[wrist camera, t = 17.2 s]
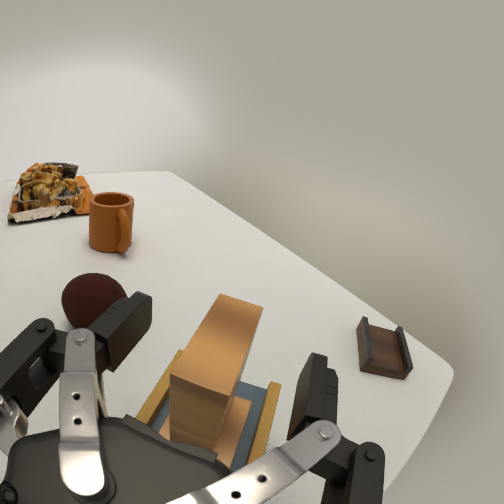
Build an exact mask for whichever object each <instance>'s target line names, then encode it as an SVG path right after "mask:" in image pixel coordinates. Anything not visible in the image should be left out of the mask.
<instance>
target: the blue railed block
mask: <svg viewBox="0 0 504 504" xmlns="http://www.w3.org/2000/svg"><path fill="white" fill-rule="evenodd" d="M182 353H183V350H180V349H179V351H178V352H177V354H176V355H175V357H174V358H173V360H172V361H171V363H170V365H169V366H168V368H167V369H166V371H165V372H164V374H163V375H162V377H161V378H160V380H159V382H158V383H157V385H156V386H155V388H154V389H153V391H152V392H151V394H150V396H149V397H148V399H147V400H146V402H145V403H144V405H143V406H142V408H141V410H140V411H139V413H138V414H137V416H136V417H135V419H137V420H139V421H141V422H143V423H145V424H147V425H149V426H150V427H151V428H152V429H154V430H155V431H156V432H158V433H159V431H160V429H161V427H162V426H163V424H164V422H165V420H166V418H167V417H168V415H169V385H170V372H171V370H172V369H173V367H174V365H175V364H176V362H177V361H178V359H179V357H180V356H181V354H182ZM280 388H281V384H279V383H275V382H272V381H271V382H270V384H269V386H268V388H267V389H264V388H260V387H257V386H254V385H251V384H248V383H244V382H241V381H240V382H239V385H238V388H237V391H236V394H235V396H236V397H239V398H243V399H246V400H249V401H252V403H251V406H250V409H249V412H248V416H247V419H246V422H245V425H244V428H243V431H242V434H241V437H240V440H239V443H238V446H237V449H236V452H235V455H234V458H233V461H232V463H231V466H230V470H231V471H232V472H233V473H234V472H236V471H238V470H239V469H241V468H243V467H244V466H246V465H248V464H250V463H251V462H253V461H255V460H256V459H258V458H259V457H261V456H263V455H264V453H265V449H266V446H267V442H268V438H269V434H270V430H271V426H272V422H273V418H274V414H275V409H276V405H277V401H278V397H279V392H280Z"/></svg>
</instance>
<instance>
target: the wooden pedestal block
mask: <svg viewBox="0 0 504 504" xmlns="http://www.w3.org/2000/svg"><path fill="white" fill-rule="evenodd" d="M262 310H263V307H260V306H257V305H254V304H251V303H248V302H245V301H242V300H239V299H236V298H233V297H230V296H227V295H224V294H221V293H220V294H219V296H218V297H217V299H216V300H215V302H214V303H213V305H212V307H211V308H210V310H209V311H208V313H207V315H206V316H205V318H204V319H203V321H202V322H201V324H200V326H199V327H198V329H197V330H196V332H195V334H194V335H193V337H192V338H191V340H190V342H189V343H188V345H187V346H186V348H185V349H184V351H183V353H182V354H181V356H180V357H179V359H178V361H177V362H176V364H175V365H174V367H173V369H172V370H171V372H170V385H169V415H168V417H167V418H166V420H165V422H164V424H163V426H162V427H161V429H160V431H159V434H160V435H161V436H163V437H164V438H165V439H167V440H170V441H175V442H180V443H186V444H192V445H196V446H199V447H201V448H204V449H207V450H210V451H213V452H216V453H218V456H217V458H216V459H218V460H219V461H221V462H222V463H224V464H225V465H226V466H227V467H228V468H229V469H230V466H231V463H232V461H233V458H234V455H235V452H236V449H237V446H238V443H239V440H240V437H241V434H242V431H243V428H244V425H245V422H246V419H247V416H248V412H249V409H250V406H251V403H252V401H249V400H246V399H243V398H239V397H236V396H235V394H236V391H237V388H238V385H239V382H240V379H241V376H242V373H243V370H244V367H245V364H246V361H247V358H248V355H249V352H250V348H251V345H252V342H253V339H254V336H255V333H256V329H257V326H258V323H259V320H260V317H261V313H262Z"/></svg>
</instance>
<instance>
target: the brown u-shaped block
mask: <svg viewBox="0 0 504 504" xmlns="http://www.w3.org/2000/svg"><path fill="white" fill-rule="evenodd" d="M357 338H358V350H359V362H360V371H364V372H369V373H373V374H378V375H383V376H388V377H393V378H398V379H403V380H404V379H405V378H406V377H407V375H408V374H409V373H410V372H411V370H412V369H413V365H412V361H411V357H410V353H409V350H408V346H407V342H406V339H405V335H404V332H403V329H402V327H400V326H398V327H397V328H396V330H395V331H392V330H388V329H384V328H380V327H377V326H373V325H369V323H368V318H367V317H364V316H363V317H362V319H361V321H360V323H359V325H358V327H357Z"/></svg>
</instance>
